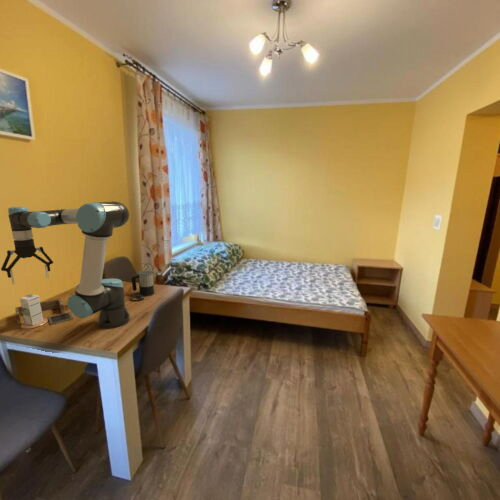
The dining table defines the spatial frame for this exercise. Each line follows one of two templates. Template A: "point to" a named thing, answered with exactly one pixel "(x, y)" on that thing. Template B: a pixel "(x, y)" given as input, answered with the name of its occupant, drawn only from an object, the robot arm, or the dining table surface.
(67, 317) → the drain grate
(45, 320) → the terracotta coaster
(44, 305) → the walnut bay
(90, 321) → the dining table surface
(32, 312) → the syrup box
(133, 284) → the milk frother
